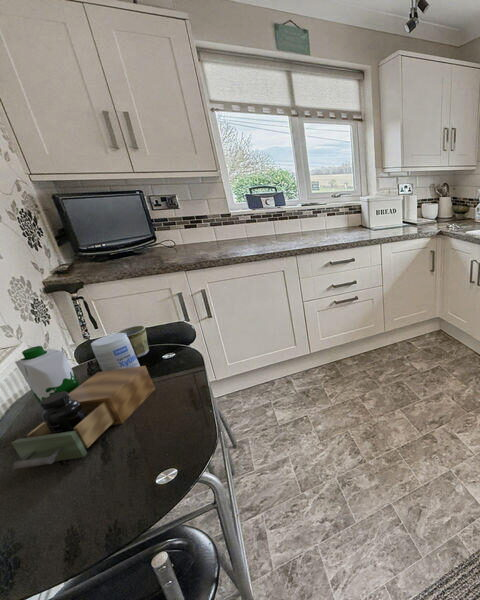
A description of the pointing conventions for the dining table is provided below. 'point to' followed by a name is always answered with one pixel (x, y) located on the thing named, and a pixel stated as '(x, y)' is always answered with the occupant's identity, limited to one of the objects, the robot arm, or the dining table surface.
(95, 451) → the dining table surface
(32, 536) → the dining table surface
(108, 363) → the supplement tub
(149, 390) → the cabinet
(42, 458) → the drawer
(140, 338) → the ceramic cup
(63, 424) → the supplement bottle
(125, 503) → the dining table surface
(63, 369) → the milk carton
